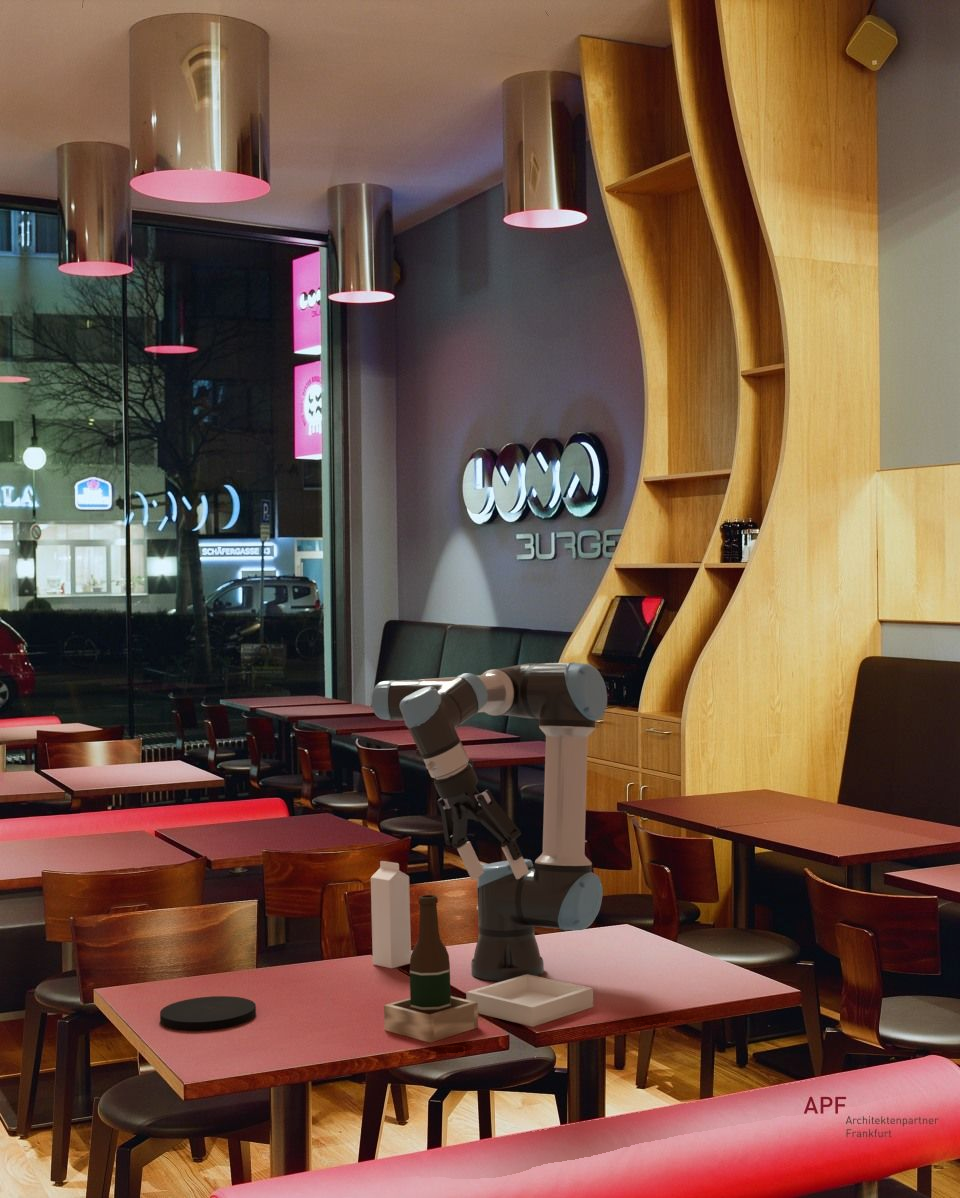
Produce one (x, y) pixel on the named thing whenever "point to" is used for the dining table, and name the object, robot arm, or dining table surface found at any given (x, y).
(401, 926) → the milk
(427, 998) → the beer bottle
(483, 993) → the tray
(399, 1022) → the box
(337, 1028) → the dining table surface
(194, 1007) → the wireless charger
